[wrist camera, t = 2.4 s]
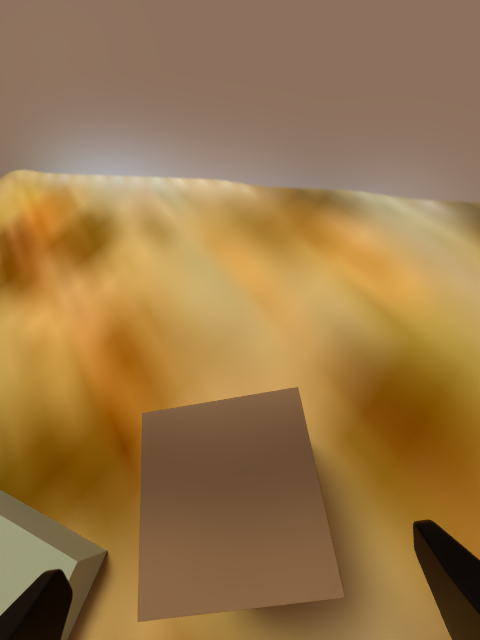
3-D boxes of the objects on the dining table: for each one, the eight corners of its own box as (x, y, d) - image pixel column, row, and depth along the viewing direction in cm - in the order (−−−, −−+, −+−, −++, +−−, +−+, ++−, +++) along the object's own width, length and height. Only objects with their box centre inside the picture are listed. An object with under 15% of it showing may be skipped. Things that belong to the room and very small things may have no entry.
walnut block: (318, 537, 15) (344, 597, 7) (217, 551, 15) (137, 621, 8) (296, 430, 17) (297, 386, 10) (209, 444, 18) (142, 413, 10)
